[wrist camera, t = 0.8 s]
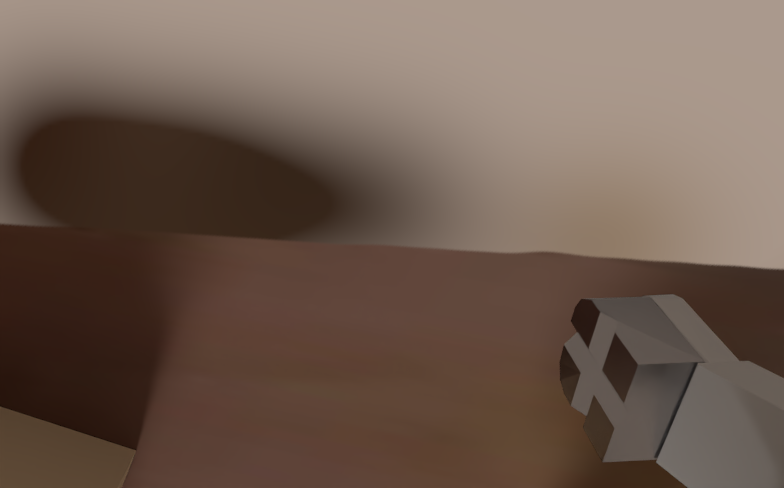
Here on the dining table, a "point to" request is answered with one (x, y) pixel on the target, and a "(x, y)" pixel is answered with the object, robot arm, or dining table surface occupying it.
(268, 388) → the dining table surface
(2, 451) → the carton
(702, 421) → the robot arm
